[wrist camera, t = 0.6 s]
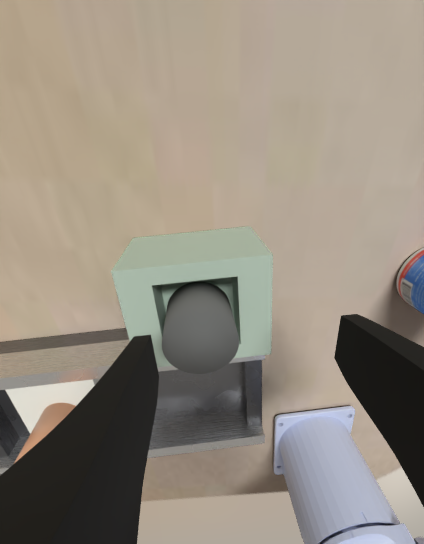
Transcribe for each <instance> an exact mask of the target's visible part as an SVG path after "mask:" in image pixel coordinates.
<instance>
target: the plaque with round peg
mask: <svg viewBox="0 0 424 544" xmlns="http://www.w3.org/2000/svg"><path fill="white" fill-rule="evenodd" d="M100 379H101V378H100ZM100 379H92V380H83V381H75V382H66V383H58V384H49V385H41V386H32V387H24V388H15V389H7V390H6V392H7V394H8V396H9V397H10V399H11V401H12V403H13V404H14V406H15V408H16V410H17V411H18V413H19V415H20V417H21V419H22V420H23V422H24V424H25V426H26V427H27V429H28V431H29V433H30V436H29V437H28V439H27V441H26V443H25V445H24V446H23V448H22V450H21V452H20V453H19V455H18V457H17V459H16V460H15V462H17V461H18V460H19V459H20V458H21V457H22V456H23V455H25V454H26V453H27V452H28V451H29V450H30V449H32V448H33V447H34V446H35V445H36V444H37V443H38V442H40V441H41V440H42V439H43V438H44V437H45V436H46V435H47V434H48V433H49V432H51V431H52V430H53V429H54V428H55V427H56V426H57V425H58V424H59V423H60V422H61V421H62V420H63V419H64V418H65V417H66V416H67V415H68V414H69V413H70V412H71V411H72V410H73V409H74V408H75V407H76V406H77V405H78V403H79V402H80V401H81V400H82V399H83V398H84V397H85V396H86V395H87V393H88V392H89V391H90V390H91V389H92V388H93V387H94V386H95V384H96V383H97V382H98V381H99V380H100ZM15 462H14V463H15Z"/></svg>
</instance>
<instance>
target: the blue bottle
mask: <svg viewBox="0 0 424 544" xmlns="http://www.w3.org/2000/svg"><path fill="white" fill-rule="evenodd" d="M397 290H398V293H399V294H400V296H401V297H402V299H403V300H405V301H406V302H407V303H408V304H410V305H411V306H413V307H414V308H415V309H417V310H418V311H420V312H421V313H423V314H424V247H423V248H421V249H420V250H418V251H417V252H415V253H414V254H413V255H412V256H410V257H409V258H408V259H407V261H406V262H405V263H404V264H403V266H402V267H401V269H400V271H399V273H398V276H397Z"/></svg>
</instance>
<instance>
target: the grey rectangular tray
mask: <svg viewBox="0 0 424 544" xmlns="http://www.w3.org/2000/svg"><path fill="white" fill-rule="evenodd" d="M129 342H130V340H129V337H128V333H127V329H126V328H122V329H113V330H104V331H95V332H87V333H78V334H69V335H60V336H51V337H42V338H33V339H24V340H15V341H6V342H0V475H1V474H2V473H4V472H5V471H6V470H7V469H9V468H10V467H11V466H12V465H13V464H14V462H15V460H16V459H17V457H18V455H19V453H20V452H21V450H22V448H23V446H24V445H25V443H26V441H27V439H28V437H29V436H30V433H29V431H28V429H27V427H26V426H25V424H24V422H23V420H22V419H21V417H20V415H19V413H18V411H17V410H16V408H15V406H14V404H13V403H12V401H11V399H10V397H9V396H8V394H7V392H6V390H7V389H15V388H24V387H32V386H41V385H49V384H58V383H66V382H75V381H83V380H92V379H100V378H101V377H102V376H103V375H104V374H105V372H106V371H107V370H108V369H109V368H110V366H111V365H112V364H113V363H114V361H115V360H116V359H117V358H118V356H119V355H120V354H121V352H122V351H123V350H124V349H125V347H126V346H127V345H128V343H129ZM262 359H265V355H258V356H250V357H241V358H233V359H232V360H231V362H230V363H228V364H227V365H226V366H224V367H223V368H221V369H219V370H217V371H214V372H211V373H206V374H192V373H187V372H184V371H181V370H179V369H177V368H175V367H174V366H164V367H157V368H158V373H159V386H158V400H157V407H156V413H155V418H154V424H153V429H152V435H151V440H150V445H149V451H148V456H147V458H153V457H160V456H168V455H176V454H184V453H192V452H199V451H207V450H215V449H223V448H231V447H238V446H246V445H254V444H262V443H265V435H264V431H263V428H262Z"/></svg>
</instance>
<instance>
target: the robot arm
mask: <svg viewBox="0 0 424 544" xmlns="http://www.w3.org/2000/svg"><path fill="white" fill-rule="evenodd" d="M334 358H335V360H336V362H337V364H338V366H339V368H340V370H341V372H342V374H343V376H344V378H345V380H346V382H347V383H348V385H349V386H350V388H351V390H352V391H353V393H354V394H355V396H356V397H357V399H358V400H359V402H360V403H361V405H362V406H363V407H364V409H365V410H366V412H367V413H368V415H369V416H370V418H371V419H372V421H373V422H374V424H375V425H376V427H377V428H378V430H379V431H380V433H381V434H382V435H383V437H384V438H385V440H386V441H387V443H388V445H389V446H390V448H391V449H392V451H393V452H394V454H395V456H396V457H397V459H398V461H399V463H400V465H401V466H402V468H403V470H404V471H405V473H406V475H407V477H408V479H409V480H410V482H411V484H412V486H413V488H414V489H415V491H416V493H417V495H418V497H419V499H420V501H421V503H422V505H423V507H424V347H422V346H420V345H418V344H416V343H414V342H412V341H410V340H408V339H406V338H404V337H402V336H400V335H398V334H396V333H395V332H393V331H391V330H389V329H387V328H385V327H383V326H381V325H379V324H377V323H375V322H373V321H371V320H369V319H367V318H365V317H362V316H360V315H358V314H353V315H343V316H341V320H340V326H339V332H338V339H337V345H336V351H335V357H334ZM158 386H159V373H158V368H157V363H156V358H155V353H154V348H153V343H152V338H151V335H143V336H134V337H133V338H132V340H131V341H130V342H129V343H128V345H127V346H126V347H125V349H124V350H123V351H122V352H121V354H120V355H119V356H118V358H117V359H116V360H115V361H114V363H113V364H112V365H111V366H110V368H109V369H108V370H107V371H106V372H105V374H104V375H103V376H102V377H101V379H100V380H99V381H98V382H97V383H96V384H95V386H94V387H93V388H92V389H91V390H90V391H89V392H88V393H87V395H86V396H85V397H84V398H83V399H82V400H81V401H80V402H79V403H78V405H77V406H76V407H75V408H74V409H73V410H72V411H71V412H70V413H69V414H68V415H67V416H66V417H65V418H64V419H63V420H62V421H61V422H60V423H59V424H58V425H57V426H56V427H55V428H54V429H53V430H52V431H51V432H49V433H48V434H47V435H46V436H45V437H44V438H43V439H42V440H41V441H40V442H38V443H37V444H36V445H35V446H34V447H33V448H32V449H30V450H29V451H28V452H27V453H26V454H25V455H23V456H22V457H21V458H20V459H19V460H18V461H17V462H15V463H14V464H13V465H12V466H11V467H10V468H9V469H7V470H6V471H5V472H4V473H2V474H1V475H0V544H137V535H138V525H139V515H140V504H141V495H142V486H143V479H144V473H145V467H146V461H147V456H148V451H149V445H150V440H151V435H152V429H153V424H154V418H155V413H156V407H157V400H158ZM354 415H355V409H354V408H353V407H352V406H345V407H337V408H329V409H321V410H313V411H305V412H297V413H289V414H281V415H277V416H276V417H275V429H274V467H273V470H274V473H275V474H276V475H280V474H284V477H285V480H286V484H287V487H288V491H289V494H290V497H291V501H292V504H293V508H294V511H295V515H296V519H297V522H298V526H299V529H300V532H301V536H302V538H303V541H304V543H305V544H424V538H423V537H417V538H415V539H413V538H412V536H411V534H410V532H409V531H408V529H407V527H406V525H405V524H404V523H401V524H400V522H399V520H398V518H397V517H396V515H395V513H394V511H393V509H392V508H391V506H390V504H389V503H388V501H387V499H386V497H385V495H384V494H383V492H382V490H381V488H380V486H379V485H378V483H377V481H376V479H375V477H374V476H373V474H372V472H371V470H370V469H369V467H368V465H367V463H366V462H365V460H364V458H363V456H362V454H361V453H360V451H359V449H358V447H357V446H356V444H355V442H354V440H353V438H352V437H351V435H350V434H351V429H352V424H353V419H354Z"/></svg>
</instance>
